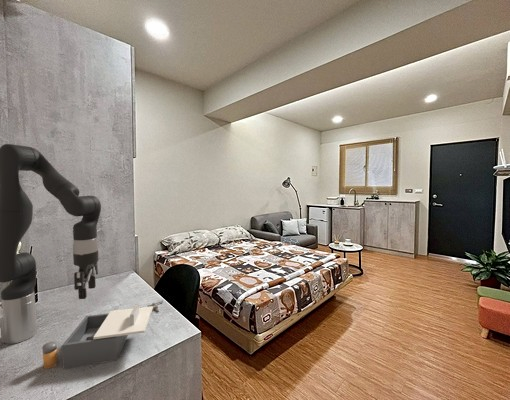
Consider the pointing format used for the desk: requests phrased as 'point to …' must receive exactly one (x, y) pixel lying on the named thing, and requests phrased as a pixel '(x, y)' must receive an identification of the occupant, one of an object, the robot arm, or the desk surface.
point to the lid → (124, 322)
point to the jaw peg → (50, 355)
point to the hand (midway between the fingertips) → (87, 293)
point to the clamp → (155, 306)
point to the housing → (90, 344)
